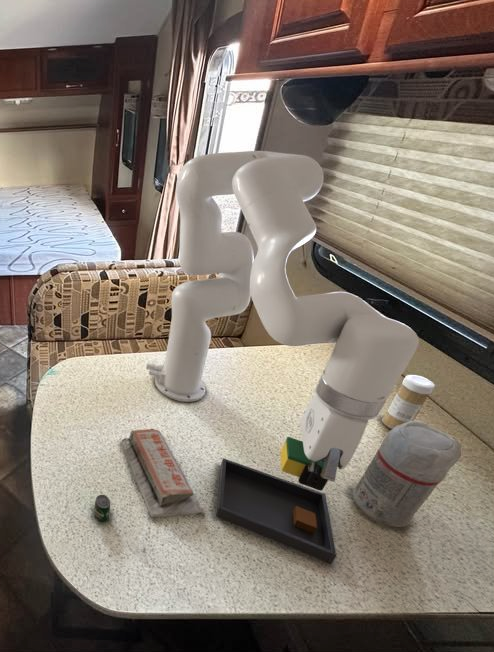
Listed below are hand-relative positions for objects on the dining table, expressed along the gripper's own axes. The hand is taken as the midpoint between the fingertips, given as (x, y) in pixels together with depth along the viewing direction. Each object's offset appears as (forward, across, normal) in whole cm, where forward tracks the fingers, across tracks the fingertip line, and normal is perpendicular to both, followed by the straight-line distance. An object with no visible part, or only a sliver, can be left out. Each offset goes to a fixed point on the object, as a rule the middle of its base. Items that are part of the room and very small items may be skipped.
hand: (308, 472), depth 64 cm
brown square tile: (+12, +1, +2) cm, 12 cm away
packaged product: (+13, +3, -23) cm, 26 cm away
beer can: (+12, +16, -30) cm, 37 cm away
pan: (+12, +1, -3) cm, 13 cm away
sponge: (0, 0, -1) cm, 1 cm away
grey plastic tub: (+12, -9, +15) cm, 21 cm away
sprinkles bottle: (+13, -36, +23) cm, 45 cm away
